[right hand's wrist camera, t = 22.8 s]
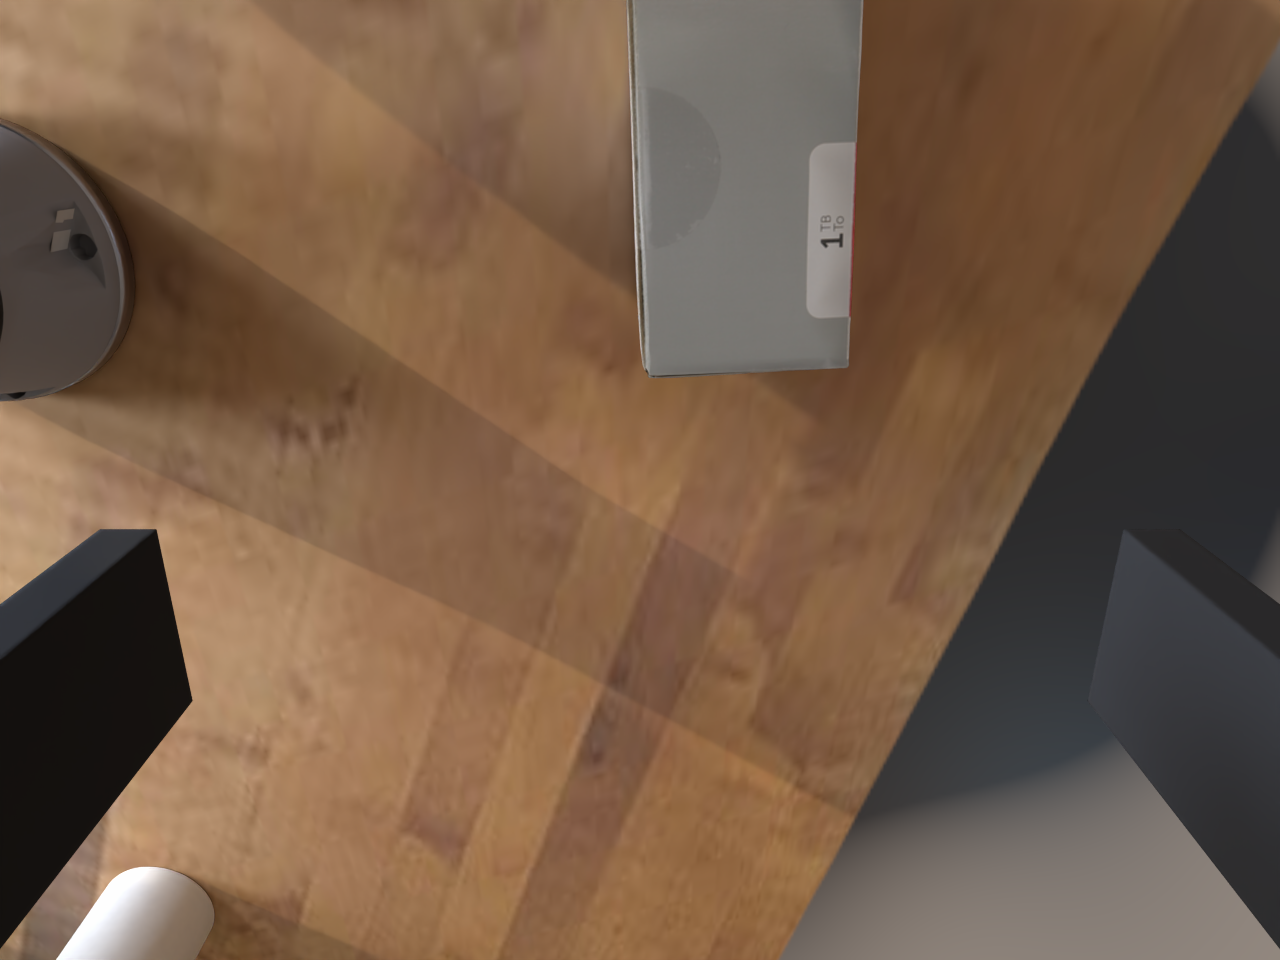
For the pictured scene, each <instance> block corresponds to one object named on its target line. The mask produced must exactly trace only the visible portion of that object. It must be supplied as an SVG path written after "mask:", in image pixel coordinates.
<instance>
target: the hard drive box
mask: <svg viewBox="0 0 1280 960" xmlns="http://www.w3.org/2000/svg"><path fill="white" fill-rule="evenodd" d="M862 20H863V0H627V27H628V53H629V79H630V108H631V137H632V165H633V199H634V233H635V261H636V286H637V300H638V320H639V332H640V347H641V356H642V363H643V367H644V369H645V371H646V372H647V374H648V377H649V378H677V377H695V376H711V375H730V374H743V373H759V372H776V371H790V370H815V369H833V368H847V367H848V366H849V339H850V320H851V300H852V277H853V255H854V232H855V195H856V162H857V122H858V99H859V82H860V66H861V47H862Z"/></svg>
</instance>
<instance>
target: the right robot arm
mask: <svg viewBox="0 0 1280 960" xmlns="http://www.w3.org/2000/svg"><path fill="white" fill-rule="evenodd" d="M134 296H135V278H134V269H133V263H132V258H131V253H130V249H129V246H128V243H127V240H126V237H125V234H124V232H123V229H122V227H121V224H120V222H119V220H118V218H117V216H116V214H115V212H114V210H113V209H112V207H111V206H110V204H109V202H108V201H107V199H106V197H105V196H104V195H103V193H102V192H101V191H100V189H99V188H98V186H97V185H96V184H95V183H94V182H93V180H92V179H91V178H90V177H89V176H88V174H87V173H86V172H85V171H84V170H83V169H82V168H81V167H80V166H79V165H78V164H77V163H76V162H75V161H74V160H72V159H71V158H70V157H69V156H68V155H67V154H65V153H64V152H63V151H62V150H60V149H59V148H58V147H56V146H55V145H53V144H52V143H51V142H49V141H48V140H46V139H44V138H43V137H41V136H39V135H38V134H36V133H34V132H32V131H30V130H28V129H26V128H24V127H22V126H20V125H17V124H14V123H12V122H9V121H7V120H3V119H0V401H17V400H25V399H32V398H37V397H42V396H46V395H49V394H52V393H55V392H58V391H60V390H62V389H65V388H67V387H69V386H71V385H73V384H75V383H78V382H80V381H82V380H84V379H85V378H87V377H89V376H90V375H92V374H93V373H94V372H96V371H97V370H98V369H100V368H101V367H102V366H103V365H104V364H105V363H106V362H107V361H108V360H109V359H110V358H111V356H112V355H113V354H114V353H115V351H116V350H117V348H118V347H119V345H120V343H121V342H122V340H123V338H124V336H125V333H126V331H127V329H128V326H129V323H130V320H131V316H132V311H133V306H134ZM191 702H192V696H191V691H190V686H189V682H188V677H187V672H186V667H185V663H184V658H183V653H182V648H181V644H180V639H179V634H178V629H177V625H176V620H175V615H174V610H173V606H172V601H171V596H170V591H169V587H168V582H167V577H166V572H165V568H164V563H163V558H162V553H161V549H160V544H159V539H158V534H157V530H156V529H100V530H99V531H97V532H96V533H95V534H93V535H92V536H91V537H89V538H88V539H87V540H85V541H84V542H83V543H81V544H80V545H79V546H77V547H76V548H75V549H73V550H72V551H71V552H69V553H68V554H67V555H65V556H64V557H63V558H61V559H60V560H59V561H57V562H56V563H55V564H53V565H52V566H51V567H49V568H48V569H47V570H45V571H44V572H43V573H41V574H40V575H39V576H37V577H36V578H35V579H33V580H32V581H31V582H29V583H28V584H27V585H25V586H24V587H23V588H21V589H20V590H19V591H17V592H16V593H15V594H13V595H12V596H11V597H9V598H8V599H7V600H5V601H4V602H3V603H1V604H0V948H1V947H2V946H3V945H4V943H5V942H6V941H7V939H8V938H9V937H10V936H11V934H12V933H13V932H14V930H15V929H16V928H17V927H18V925H19V924H20V923H21V921H22V920H23V919H24V918H25V916H26V915H27V914H28V912H29V911H30V910H31V908H32V907H33V906H34V905H35V903H36V902H37V901H38V899H39V898H40V897H41V896H42V894H43V893H44V892H45V890H46V889H47V888H48V887H49V885H50V884H51V883H52V881H53V880H54V879H55V878H56V876H57V875H58V874H59V872H60V871H61V870H62V869H63V867H64V866H65V865H66V863H67V862H68V861H69V860H70V858H71V857H72V856H73V854H74V853H75V852H76V850H77V849H78V848H79V847H80V845H81V844H82V843H83V841H84V840H85V839H86V838H87V836H88V835H89V834H90V832H91V831H92V830H93V829H94V827H95V826H96V825H97V823H98V822H99V821H100V820H101V818H102V817H103V816H104V814H105V813H106V812H107V811H108V809H109V808H110V807H111V805H112V804H113V803H114V801H115V800H116V799H117V798H118V796H119V795H120V794H121V792H122V791H123V790H124V789H125V787H126V786H127V785H128V783H129V782H130V781H131V780H132V778H133V777H134V776H135V774H136V773H137V772H138V771H139V769H140V768H141V767H142V765H143V764H144V763H145V762H146V760H147V759H148V758H149V756H150V755H151V754H152V753H153V751H154V750H155V749H156V747H157V746H158V745H159V743H160V742H161V741H162V740H163V738H164V737H165V736H166V734H167V733H168V732H169V731H170V729H171V728H172V727H173V725H174V724H175V723H176V722H177V720H178V719H179V718H180V716H181V715H182V714H183V713H184V711H185V710H186V709H187V707H188V706H189V705H190V704H191ZM1088 702H1089V704H1090V705H1091V706H1092V707H1093V709H1094V710H1095V711H1096V712H1097V714H1098V715H1099V716H1100V718H1101V719H1102V720H1103V722H1104V723H1105V724H1106V725H1107V727H1108V728H1109V729H1110V731H1111V732H1112V733H1113V734H1114V736H1115V737H1116V738H1117V740H1118V741H1119V742H1120V743H1121V745H1122V746H1123V747H1124V749H1125V750H1126V751H1127V752H1128V754H1129V755H1130V756H1131V758H1132V759H1133V760H1134V762H1135V763H1136V764H1137V765H1138V767H1139V768H1140V769H1141V770H1142V772H1143V773H1144V774H1145V776H1146V777H1147V778H1148V780H1149V781H1150V782H1151V783H1152V785H1153V786H1154V787H1155V789H1156V790H1157V791H1158V792H1159V794H1160V795H1161V796H1162V798H1163V799H1164V800H1165V801H1166V803H1167V804H1168V805H1169V807H1170V808H1171V809H1172V811H1173V812H1174V813H1175V814H1176V816H1177V817H1178V818H1179V820H1180V821H1181V822H1182V823H1183V825H1184V826H1185V827H1186V829H1187V830H1188V831H1189V832H1190V834H1191V835H1192V836H1193V838H1194V839H1195V840H1196V841H1197V843H1198V844H1199V845H1200V847H1201V848H1202V849H1203V850H1204V852H1205V853H1206V854H1207V856H1208V857H1209V858H1210V859H1211V861H1212V862H1213V863H1214V865H1215V866H1216V867H1217V868H1218V870H1219V871H1220V872H1221V874H1222V875H1223V876H1224V878H1225V879H1226V880H1227V881H1228V883H1229V884H1230V885H1231V887H1232V888H1233V889H1234V890H1235V892H1236V893H1237V894H1238V896H1239V897H1240V898H1241V899H1242V901H1243V902H1244V903H1245V905H1246V906H1247V907H1248V908H1249V910H1250V911H1251V912H1252V914H1253V915H1254V916H1255V918H1256V919H1257V920H1258V921H1259V923H1260V924H1261V925H1262V927H1263V928H1264V929H1265V930H1266V932H1267V933H1268V934H1269V936H1270V937H1271V938H1272V939H1273V941H1274V942H1275V943H1276V945H1277V946H1278V947H1279V948H1280V604H1279V603H1277V602H1276V601H1275V600H1273V599H1272V598H1271V597H1269V596H1268V595H1267V594H1265V593H1264V592H1263V591H1261V590H1260V589H1259V588H1257V587H1256V586H1255V585H1253V584H1252V583H1251V582H1249V581H1248V580H1247V579H1245V578H1244V577H1243V576H1241V575H1240V574H1239V573H1237V572H1236V571H1235V570H1233V569H1232V568H1231V567H1229V566H1228V565H1227V564H1225V563H1224V562H1223V561H1221V560H1220V559H1219V558H1217V557H1216V556H1215V555H1213V554H1212V553H1211V552H1209V551H1208V550H1207V549H1205V548H1204V547H1203V546H1201V545H1200V544H1199V543H1197V542H1196V541H1195V540H1193V539H1192V538H1191V537H1189V536H1188V535H1187V534H1185V533H1184V532H1183V531H1181V530H1180V529H1124V530H1123V534H1122V539H1121V544H1120V549H1119V554H1118V558H1117V563H1116V568H1115V573H1114V577H1113V582H1112V587H1111V591H1110V596H1109V601H1108V606H1107V610H1106V615H1105V620H1104V625H1103V629H1102V634H1101V639H1100V644H1099V648H1098V653H1097V658H1096V663H1095V667H1094V672H1093V677H1092V682H1091V687H1090V691H1089V696H1088Z"/></svg>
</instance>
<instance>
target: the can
mask: <svg viewBox="0 0 1280 960" xmlns="http://www.w3.org/2000/svg"><path fill="white" fill-rule="evenodd" d="M213 924H214V908H213V905H212V902H211V900H210V898H209V896H208V895H207V893H206V892H205V891H204V890H203V889H202V888H201V887H200V886H199V885H198V884H197V883H196V882H194V881H193V880H192V879H190V878H188V877H187V876H185V875H183V874H180V873H178V872H176V871H173V870H169V869H165V868H159V867H139V868H134V869H131V870H128V871H125V872H123V873H121V874H120V875H118V876H117V877H115V878H114V879H113V880H112V881H111V882H110V884H109V885H108V886H107V888H106V889H105V891H104V892H103V893H102V895H101V896H100V898H99V899H98V901H97V902H96V903H95V905H94V906H93V908H92V909H91V911H90V912H89V913H88V915H87V916H86V918H85V919H84V921H83V922H82V924H81V925H80V926H79V928H78V929H77V931H76V932H75V934H74V935H73V936H72V938H71V939H70V941H69V942H68V944H67V945H66V946H65V948H64V949H63V951H62V952H61V954H60V955H59V956H58V958H57V959H56V960H195V959H196V957H197V956H198V954H199V952H200V950H201V948H202V946H203V944H204V942H205V941H206V939H207V937H208V935H209V933H210V931H211V929H212V927H213Z"/></svg>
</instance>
